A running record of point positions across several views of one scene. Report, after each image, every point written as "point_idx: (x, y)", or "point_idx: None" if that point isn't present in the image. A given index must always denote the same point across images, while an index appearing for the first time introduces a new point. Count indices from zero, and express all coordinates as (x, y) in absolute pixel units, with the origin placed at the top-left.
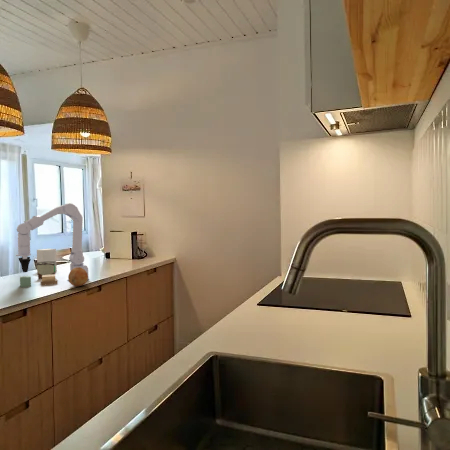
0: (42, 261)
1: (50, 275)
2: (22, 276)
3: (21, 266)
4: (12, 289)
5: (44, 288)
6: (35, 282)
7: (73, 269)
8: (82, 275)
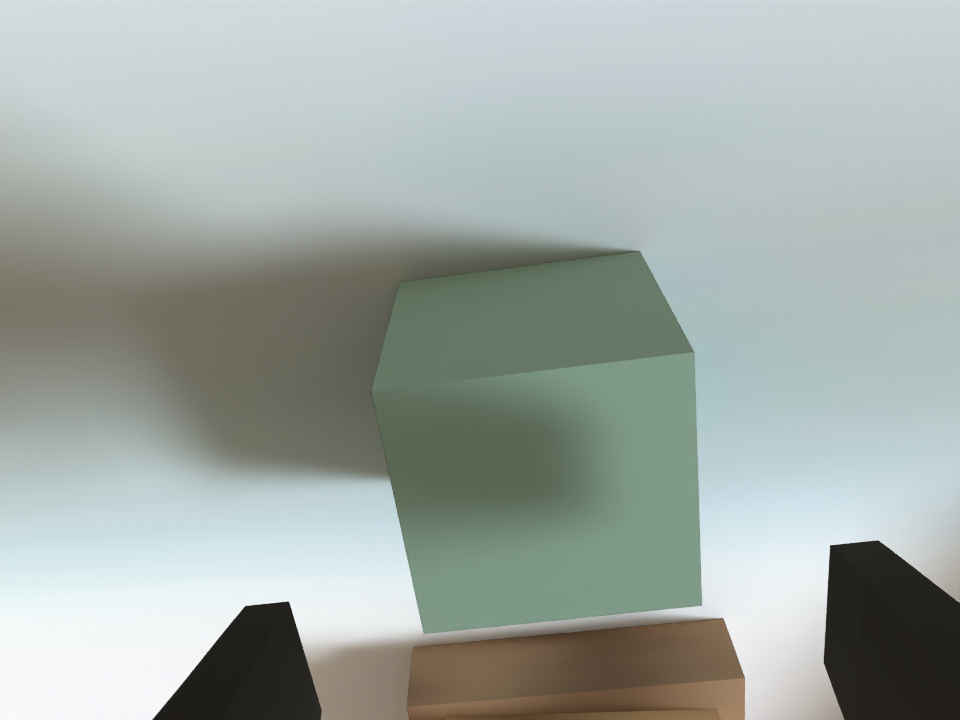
0: None
1: None
2: (677, 425)
3: (927, 650)
4: (130, 130)
5: (53, 701)
6: (915, 527)
7: None
8: None
